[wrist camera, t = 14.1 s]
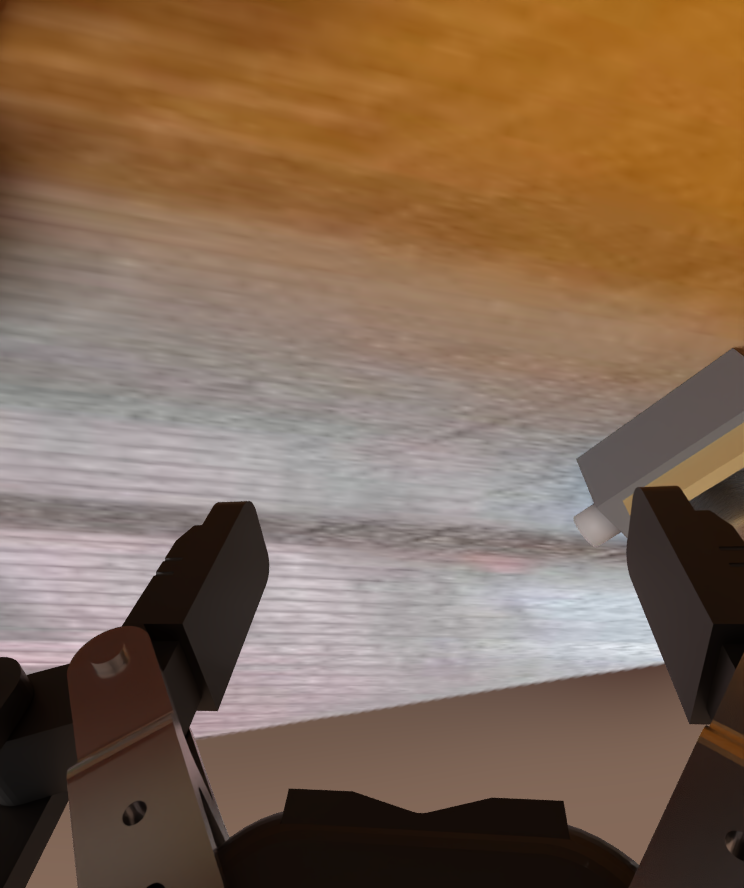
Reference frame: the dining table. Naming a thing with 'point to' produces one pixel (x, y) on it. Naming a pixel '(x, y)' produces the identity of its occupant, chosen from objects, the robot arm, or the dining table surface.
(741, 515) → the oil can
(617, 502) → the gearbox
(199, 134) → the dining table surface
